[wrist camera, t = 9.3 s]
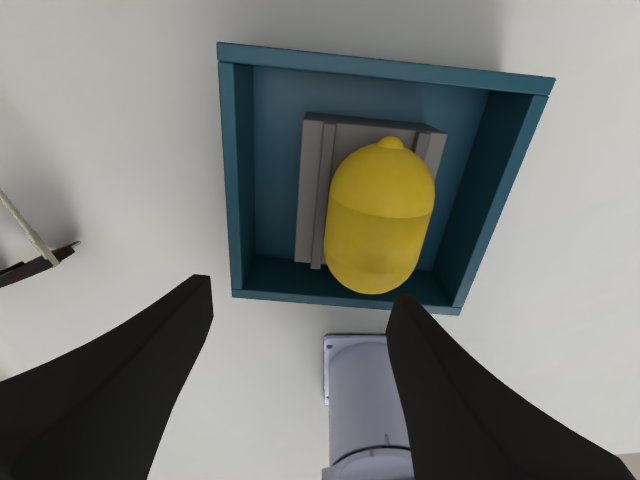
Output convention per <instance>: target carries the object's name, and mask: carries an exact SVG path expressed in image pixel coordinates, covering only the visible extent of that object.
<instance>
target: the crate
mask: <svg viewBox="0 0 640 480" xmlns="http://www.w3.org/2000/svg"><path fill="white" fill-rule="evenodd" d="M217 59H218V61H219V62H218V76H219V93H220V109H221V126H222V143H223V159H224V176H225V192H226V209H227V225H228V242H229V258H230V275H231V288H232V289H231V291H232V297H234V298H246V299H259V300H271V301H283V302H296V303H308V304H320V305H333V306H345V307H357V308H370V309H382V310H392V307H393V304H394V300H395V296H396V293H401V294H412V295H413V296H414V297H415V298H416V299H417V300H418V302H419V303H420V304H421V305H422V306H423V307H424V308H425V309H426V310H427V312H428V313H431V314H443V315H456V316H458V315H459V314H460V311H461V309H462V307H463V305H464V302H465V300H466V297H467V295H468V292H469V290H470V288H471V285H472V283H473V280H474V278H475V275H476V273H477V271H478V268H479V266H480V263H481V261H482V258H483V256H484V254H485V251H486V249H487V246H488V244H489V241H490V239H491V237H492V234H493V232H494V229H495V227H496V224H497V222H498V219H499V217H500V215H501V212H502V210H503V207H504V205H505V202H506V200H507V198H508V195H509V193H510V190H511V188H512V185H513V183H514V181H515V178H516V176H517V173H518V171H519V168H520V166H521V164H522V161H523V159H524V156H525V154H526V151H527V149H528V147H529V144H530V142H531V139H532V137H533V134H534V132H535V130H536V127H537V125H538V122H539V120H540V117H541V115H542V113H543V110H544V108H545V105H546V103H547V100H548V98H549V97H548V95H550V93H551V90H552V88H553V85H554V83H555V80H556V79H555V78H552V77H543V76H534V75H524V74H515V73H506V72H496V71H487V70H478V69H468V68H459V67H450V66H440V65H431V64H422V63H412V62H403V61H394V60H384V59H375V58H366V57H356V56H347V55H338V54H328V53H319V52H310V51H300V50H291V49H282V48H272V47H263V46H254V45H244V44H235V43H226V42H217ZM307 112H314V113H324V114H334V115H344V116H354V117H364V118H374V119H384V120H394V121H404V122H413V123H423V124H428V125H430V126H432V127H434V128H436V129H438V130H440V131H443V132H445V133H447V134H448V136H447V139H446V143H445V146H444V150H443V153H442V157H441V160H440V164H439V168H438V171H437V175H436V178H435V182H434V185H435V200H434V206H433V211H432V214H431V217H430V221H429V224H428V228H427V231H426V235H425V238H424V241H423V245H422V248H421V252H420V255H419V258H418V262H417V264H416V266H415V269H414V270H413V272H412V273H411V275H410V276H409V277H408V279H407V280H406V281H404V282H403V283H402V284H401V285H399V286H398V287H397V288H395V289H392V290H390V291H388V292H385V293H381V294H363V293H359V292H356V291H353V290H351V289H349V288H347V287H346V286H344V285H343V284H341V283H340V282H339V281H338V280H337V279H336V278H335V277H334V275H333V274H332V273H331V271H330V269H329V267H328V265H327V264H321V268H320V269H311V268H310V265H311V263H306V262H295V261H294V253H295V237H296V220H297V204H298V187H299V170H300V154H301V137H302V121H303V119H304V117H305V115H306V113H307Z"/></svg>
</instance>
